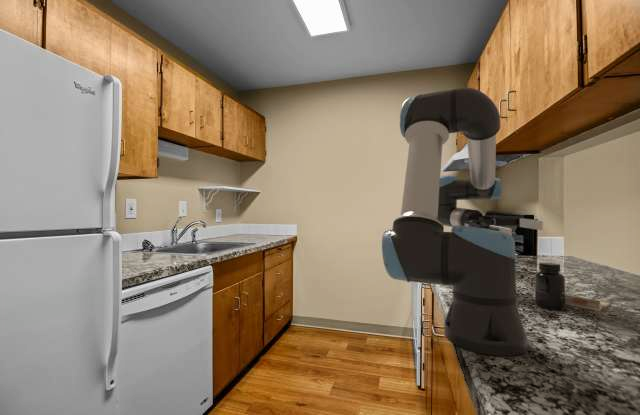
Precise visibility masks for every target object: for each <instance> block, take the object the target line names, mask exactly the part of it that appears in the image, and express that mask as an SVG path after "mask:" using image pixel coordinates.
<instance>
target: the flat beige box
mask: <svg viewBox="0 0 640 415" xmlns="http://www.w3.org/2000/svg"><path fill="white" fill-rule="evenodd" d="M565 305H568V306H572V307H578V308H581V309H582V308H583V309H586V310H591V311H596V312H600V311H602V310H604V309H605V308H608V307H611V305H612V303H611V302H609V301H603V300H598V299H593V298H588V297H587V298H586V297H582V296H576V295H575V296H574V295H570V294H566V293H565Z"/></svg>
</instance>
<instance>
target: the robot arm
mask: <svg viewBox="0 0 640 415" xmlns="http://www.w3.org/2000/svg"><path fill="white" fill-rule="evenodd" d="M399 129H400V133H401V135H402V137H403V138H404V140H405V141H406V142H407V144H408V153H407V160H406V161H407V162H406V170H405V176H404V178H405V179H404V186H403V194H402V202H401V210H400V216H398V217H396V218H395V219H394V220H393V224H392V229H387V230H385V231H383V234H382V239H381V253H382V261H383V265H384V269H385V270H386V273H387V276H389V277H390V278H391V279H392V280H395V281H396V280H397V281H403V282H407V283H411V282H412V283H414V282H415V283H421V284H432V285H439V286H440V285H442V286H449V287H452V300H451V302H450V306H449V309H448V311H447V314H446V318H445V320H444V325H443V328H444V329H443V332H444V334H443V335H444V337H445V339H446V340H447V341H449V342H451V343H452V344H453V345H455V346H458V347H460V348H462V349H464V350H467V351H471V352H474V353H478V354H482V355H483V354H484V355H487V356H488V355H490V356H499V357H510V356H511V357H513V356H519V355H523V354H524V353H526V352H527V350H528V335H527V332H526V330H525V327H524V324H523V322H522V319H521V316H520V313H519V310H518V308H517V307H518V306H517V281H516V280H517V278H516V275H517V273H516V272H517V271H516V259H517V258H518V255H516V243H515V242H516V241H515V238H514V237H513V236H512V234H513V233H512V232H513V230H512V228H509V227H511V226H513V227H515V226H516V227H517V226H519V228H524V229H531V230H537V231H542V230H543V220H537V219H530V218H525V216H523V215H520V216H515V215H514V216H513V215H496V214H491V215H483V213H482V212H481V211H480V210H477V209H470V208H464V207H463V208H462V207H458V206H457V204H458V201H464V200H465V201H470V200H472V201H474V200H476V201H477V200H483V201H484V200H486V201H487V200H488V201H489V200H498V199H500V198H501V197H502V180H501V178H500V177H499V178H498V177H496V161H497V160H496V159H497V158H496V157H497V156H496V154H497V134H498V133H499V132H500V130H501V114H500V112H499V109H498V107H497V106H496V104H495V103H494V101H493V100H492V99H491V98H490V97H489V96H488V95H487V94H485V93H484V92H482V91H481V90H479V89H476V88H474V87H466V86H465V87H463V86H461V87H458V88H457V87H456V88H452V89H445V90H440V91H435V92H430V93H424V94H422V93H420V94H417V95H415V96H411V97H408V98H406V99H405V101H404V102H403V103H402V106H401V108H400V113H399ZM455 133H462V135H463V137H465V139H466V141H467V154H468V166H469V177H470V179H458V178H457V176H456V174H443V175H441V172H442V157H443V156H442V154H443V146H444V144H446V143H447V141H448V140H449V137H450V134H455ZM503 226H504V227H503ZM507 226H509V227H507ZM445 227H452V228H451V229H450V230H451V231H444V229H445Z"/></svg>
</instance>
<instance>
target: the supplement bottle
mask: <svg viewBox="0 0 640 415" xmlns="http://www.w3.org/2000/svg"><path fill="white" fill-rule="evenodd" d="M538 270H539V271H538V272H536V273H535V274H534V302H535V305H536V306H538V307H541V308H544V309H548V310H560V311H561V310H564V309H565V308H566V304H565V294H566V278H565V276H564V275H563V274H562V273H560V272H561V264H559V263H555V262H539V263H538Z"/></svg>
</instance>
